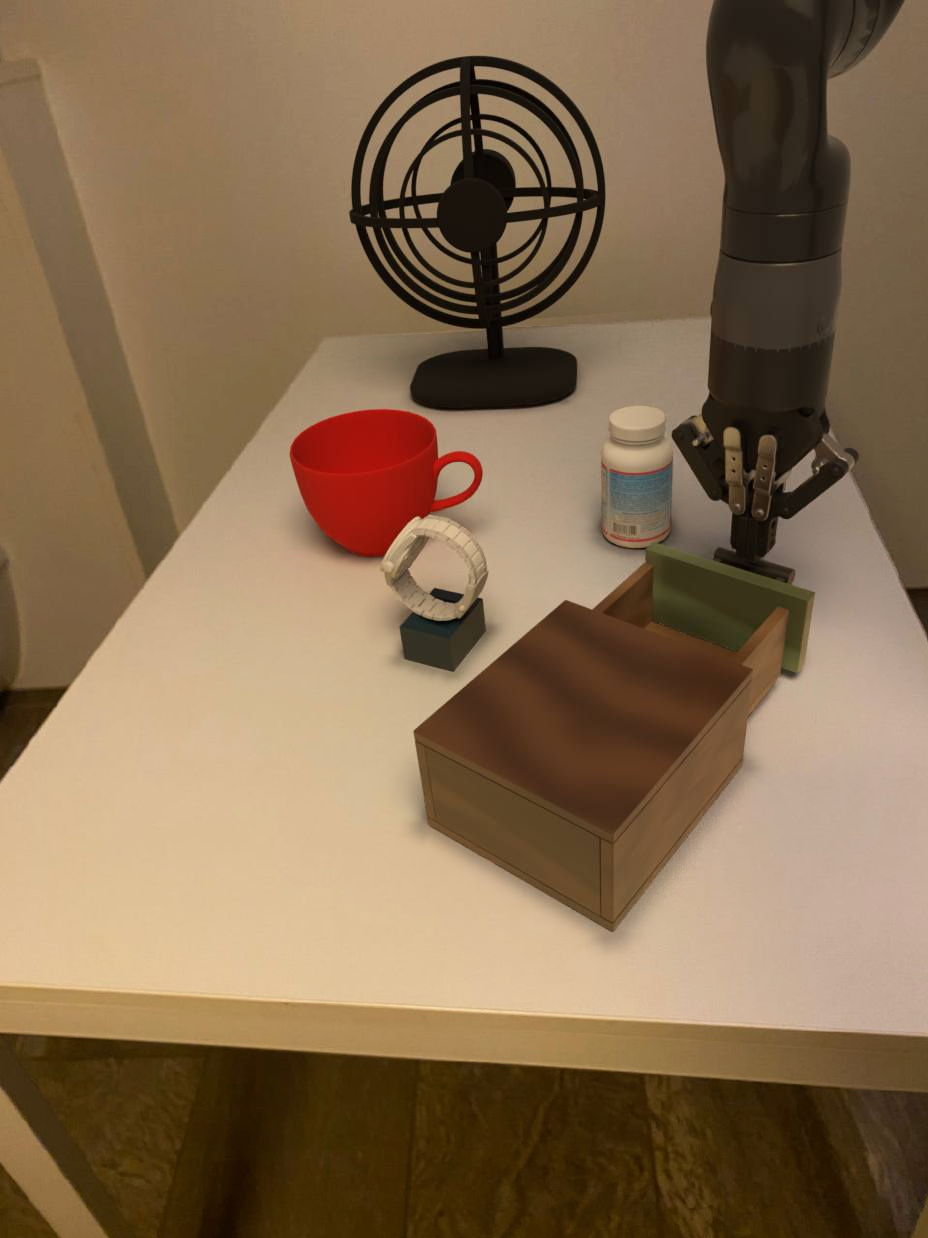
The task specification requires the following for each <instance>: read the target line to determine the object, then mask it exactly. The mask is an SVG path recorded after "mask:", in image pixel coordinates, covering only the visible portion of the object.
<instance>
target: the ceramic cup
mask: <svg viewBox="0 0 928 1238" xmlns="http://www.w3.org/2000/svg"><path fill="white" fill-rule="evenodd" d="M437 435H438V434H437V429H436V427H435V426H434V424H433V422H432V421H430V420H429V419H428V418H426V417H425V416H422V415H420V414H418V413H414V412H411V411H407V410H401V409H394V408H393V409H391V408H375V409H374V408H373V409H372V408H371V409H363V410H355V411H351V412H345V413H341V414H338V415H333V416H330V417H327V418H325V419H322V420H320V421H318V422H316V423H314V424H312V425H310V426H308V427H307V428H306V429H304V430H302V431H301V432H300V433H299V434H298V435H297V436H296V437H295V438H294V439H293V441H292V443H291V445H290V447H289V458H290V463H291V466H292V470H293V474H294V477H295V481H296V485H297V487H298V490H299V492H300V496H301V498H302V501H303V503H304V506H305V507H306V509H307V511H308V513H309V515H310V516H311V518H312V519H313V521H314V522H315V523H316V525H317V526H318V527H319V528H320V530H321V531H322V532H323V533H324V534H325V535H326V536H327V537H329V539H332V540H333V541H335V542H336V543H337V544H338V545H340V546H342V547H343V548H345V549H346V550H347V551H348V552H350V553H352V554H354V555H358V556H361V557H362V556H363V557H379V556H381V557H382V556H385V554H386V553H387V551H388V549H389V548H390V546H391V545H392V543H393V542H394V540H395V539H396V537H397V536H398V535H399V534H400V532H401V531H402V530H403V529H404V527H405V526H406V525H407V524H408V523H409V522H410V521H411V520H412V519H414V518H415V517H420V518H421V519H423V518H425V517H426V516H428V515H431V513H435V512H439V511H442V510H446V509H450V508H453V507H456V506H458V505H461V504H463V503H464V502H466V501H468V500H469V499H470V498H472V497H473V496H474V495H475V493H476V492H477V491H478V489H479V487H480V486H481V483H482V481H483V476H484V471H483V466H482V464H481V461H480V459H478V457H477V456H475V455H474V454H472V453H471V452H468V451H464V450H456V451H451V452H448V453H445V454H443V455H441V456H440V457H439V448H438V447H439V445H438V436H437ZM454 463H464V464H466V465H468V466H469V467H470V468H471V469H472V471H473V475H474V477H473V480H472V483H471V484H470V485H469V486H468V488H466V489H465V490H464V491H462V492H460V493H458V494H455V495H453V496H450V497H446V498H441V499H436V496H437V491H438V485H439V477H440V474H441V472H442V470H443V469H444V468H445V467H447V466H448V465H450V464H454Z"/></svg>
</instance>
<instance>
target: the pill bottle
mask: <svg viewBox="0 0 928 1238" xmlns="http://www.w3.org/2000/svg"><path fill="white" fill-rule="evenodd" d="M666 419H667V418H666V414H665V413H664V412H663V411H662V410H661V409H659V408H657V407H653V406H649V405H631V406H625V407H621V408H619V409H616V410H614V411H613V412H611V414H610V415H609V418H608V433H609V436H610V437H609V438H608V439H607V440H606V441H605V442H604V444H603V445H602V447H601V450H600V451H601V452H600V453H601V454H600V472H601V473H600V479H601V480H600V481H601V483H600V484H601V485H600V486H601V529H602V530H601V531H602V534H603V535H604V538H606V539H607V540H608V541H609V542H611V543H612V544H614V545H616V546H619V547H623V548H628V549H643V548H647V547H649V546H650V545H651V544H652V543H653V542H655V543H658V544H660V543H661V542H662V541H664V540H665V539H666V538H667V537H668V536H669V535H670V532H671V528H672V509H673V508H672V505H673V477H674V475H673V474H674V473H673V472H674V448H673V445H672V444H671V442H670V440H669V439H668V438H667V437H665V434H666V430H667V426H666V421H667V420H666Z"/></svg>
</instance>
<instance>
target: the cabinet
mask: <svg viewBox="0 0 928 1238" xmlns="http://www.w3.org/2000/svg"><path fill="white" fill-rule="evenodd" d="M592 609H593V608H589V607H588V606H587V607H586V606H584V605H581V604H579V603H575V602H573V601H570V600H568V599H564V600H563V601H562V602H561V603H560V604H559V605H557V607H555V608H554V609H553V610H551V612H549V613H548V614H547V615H545V616H544V618H543V619H542V620H540V621H539V622H538V623H537V624H536V625H534V626H533V627H532V628H530V629H529V630H528V631H527V632H526V633H525V634H523V636H522V637H520V638H519V639H518V640H517V641H516V642H515V643H513V644H512V645H511V646H510V647H508V648H507V649H506V650H505V651H504V652H503V653H502V654H500V655H499V656H498V657H497V658H496V659H494V661H493V662H491V663H490V664H489V665H488V666H486V667H485V668H484V669H483V670H481V672H480V673H478V674H477V675H476V676H475V677H473V679H471V681H469V682H468V683H467V684H465V686H463V687H462V688H460V689H459V691H458V692H456V693H455V694H454V695H453V696H452V697H451V698H449V699H448V700H447V701H446V702H445V703H444V704H442V705H441V706H440V707H439V708H438V709H437V710H436V711H434V712H433V713H431V714H430V716H428V717H427V718H426V719H425V720H424V721H422V723H420V724H419V725H418V726H417V727H416V728H414V729H413V732H412V733H413V738H414V746H415V752H416V758H417V763H418V770H419V776H420V781H421V782H420V783H421V788H422V794H423V801H424V807H425V812H426V817H427V822H428V823H427V824H428V826H430V827H432V828H433V829H435V830H437V831H438V832H440V833H441V834H443V835H445V836H447V837H449V838H451V840H454V841H456V842H457V843H459V844H461V845H462V846H465V847H466V848H467V849H470V850H471V851H473V852H475V853H476V854H478V855H479V856H482V857H483V858H485V859H487V860H488V861H490V862H492V863H494V864H495V865H497V866H499V867H501V868H502V869H504V870H505V871H507V872H509V873H511V874H513V875H514V876H516V877H518V878H519V879H521V880H523V881H524V882H526V883H528V884H530V885H531V886H533V887H534V888H536V889H538V890H540V891H541V892H543V893H545V894H547V895H548V896H550V897H552V898H553V899H555V900H557V901H559V902H561V903H562V904H563V905H566V906H568V908H571V909H573V910H574V911H576V912H577V913H580V914H581V915H583V916H585V917H586V918H588V919H590V920H591V921H593V922H595V923H597V924H598V925H600V926H601V927H603V928H605V929H607V930H608V931H610V932H614V931H615V930H616V928H617V927H618V926H619V924H620V923H621V922H622V920H623V919H624V918H625V917H626V916H627V915H628V913H629V912H630V910H631V909H632V908H633V906H634V905H635V904H636V903H637V902H638V900H639V899H640V898H641V896H642V895H643V894H644V892H645V891H646V890H647V889H648V887H649V886H650V885H651V883H652V882H653V881H654V880H655V878H656V877H657V876H658V874H659V873H660V872H661V870H663V868H664V867H665V865H666V864H667V863H668V862H669V860H670V859H671V858H672V856H673V855H674V854H675V853H676V851H677V850H678V848H680V846H681V845H682V843H683V842H684V841H685V840H686V838H687V837H688V836H689V835H690V833H691V832H692V831H693V830H694V828H695V827H696V825H697V824H698V823H699V821H700V820H701V819H702V818H703V816H705V814H706V813H707V812H708V810H709V809H710V808H711V806H712V805H713V804H714V803H715V801H716V800H717V799H718V797H719V796H720V794H722V792H723V791H724V790H725V789H726V787H727V785H729V783H730V782H731V780H733V778H734V777H735V775H736V774H737V773H738V772H739V770H740V769H741V768H742V766H743V763H744V762H743V761H744V753H745V745H746V737H747V736H746V735H747V727H748V718H749V715H748V710H749V701H750V692H751V683H752V675H753V669H752V668H749V667H746V666H743V665H741V664H738V663H735V662H733V661H730V660H727V659H725V658H722V657H719V656H716V655H714V654H711V653H708V652H706V651H703V650H700V649H697V648H695V647H692V646H689V645H687V644H684V643H681V642H679V641H676V640H673V639H670V638H668V637H665V636H662V635H660V634H657V633H654V632H652V631H649V630H646V629H643V628H641V627H638V626H635V625H633V624H630V623H627V622H625V621H622V620H619V619H616V618H614V617H611V616H608V615H606V614H603V613H600V612H598V611H595V610H592Z"/></svg>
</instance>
